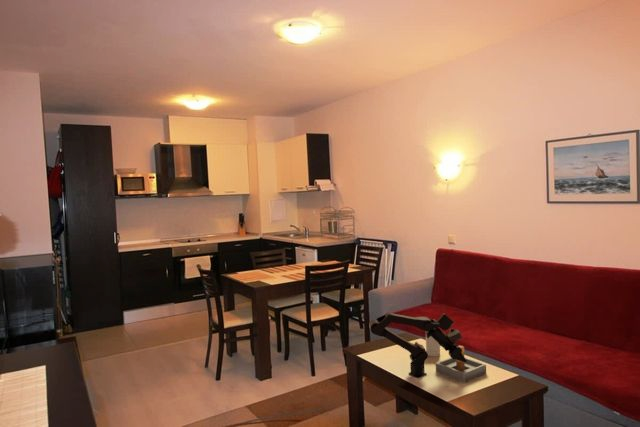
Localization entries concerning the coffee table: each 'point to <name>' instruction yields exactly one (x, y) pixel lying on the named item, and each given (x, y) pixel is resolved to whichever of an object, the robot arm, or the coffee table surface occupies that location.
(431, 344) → the supplement box
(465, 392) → the coffee table surface
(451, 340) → the robot arm
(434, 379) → the coffee table surface
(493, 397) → the coffee table surface
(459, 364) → the orange peg
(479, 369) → the socket box
